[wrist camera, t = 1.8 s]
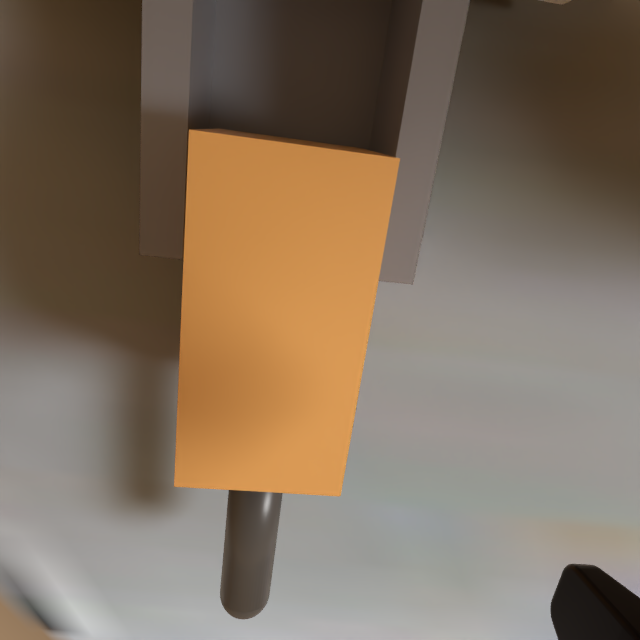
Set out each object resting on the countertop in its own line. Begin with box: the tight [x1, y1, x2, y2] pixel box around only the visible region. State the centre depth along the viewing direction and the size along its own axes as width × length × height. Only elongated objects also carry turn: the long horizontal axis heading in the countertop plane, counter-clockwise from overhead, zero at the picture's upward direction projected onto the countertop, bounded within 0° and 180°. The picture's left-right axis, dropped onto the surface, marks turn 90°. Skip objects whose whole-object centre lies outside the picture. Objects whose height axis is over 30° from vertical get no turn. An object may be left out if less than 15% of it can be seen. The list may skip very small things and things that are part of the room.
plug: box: [174, 128, 400, 619], centre depth 15 cm, size 15×4×5 cm, turn 173°
